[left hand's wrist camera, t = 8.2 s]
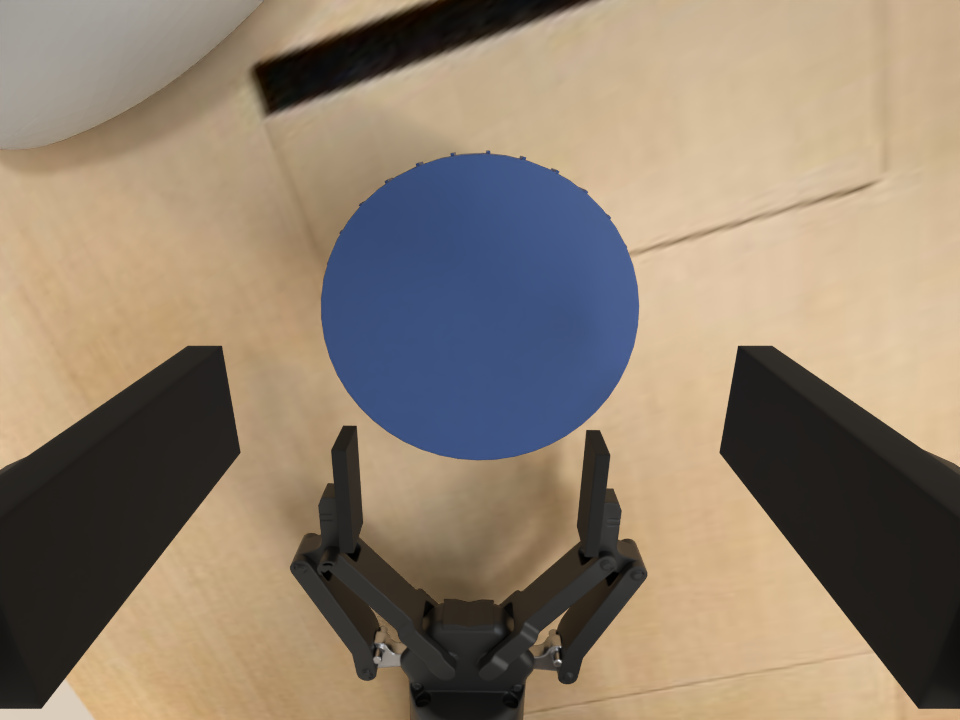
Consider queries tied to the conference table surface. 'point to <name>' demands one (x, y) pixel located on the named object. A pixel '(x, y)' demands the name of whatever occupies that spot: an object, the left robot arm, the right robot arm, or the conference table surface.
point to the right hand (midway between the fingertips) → (471, 438)
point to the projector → (97, 59)
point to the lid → (479, 306)
